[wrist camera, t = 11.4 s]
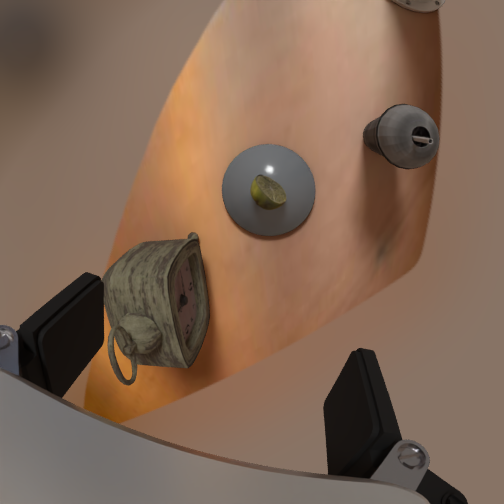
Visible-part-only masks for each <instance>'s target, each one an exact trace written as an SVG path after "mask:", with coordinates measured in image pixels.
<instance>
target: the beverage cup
mask: <svg viewBox="0 0 504 504" xmlns="http://www.w3.org/2000/svg"><path fill="white" fill-rule="evenodd" d="M363 138H364V142H365V144H366V145H367V146H368V147H369V148H370V149H371V150H372V151H374V152H376V153H378V154H380V155H382V156H384V157H385V158H386V159H387V160H388V161H389V162H390V163H391V164H393V165H395V166H396V167H398V168H403V169H414V168H418V167H422V166H423V165H425V164H427V163H429V162H430V161H431V159H432V158H433V157H434V156H435V155H436V152H437V150H438V147H439V133H438V129H437V126H436V124H435V122H434V120H433V119H432V118H431V117H430V116H429V115H428V114H427V113H426V112H425V111H423V110H421V109H420V108H418V107H415V106H411V105H407V104H399V105H394V106H392V107H390V108H388V109H387V110H386V111H385V112H384V113H383V114H382V115H381V116H380V117H379V118H377V119H375V120H373V121H371V122H370V123H369V124H368V125H367V126H366V127H365V129H364V131H363Z"/></svg>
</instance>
